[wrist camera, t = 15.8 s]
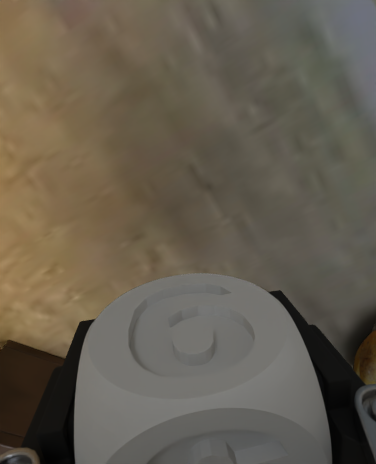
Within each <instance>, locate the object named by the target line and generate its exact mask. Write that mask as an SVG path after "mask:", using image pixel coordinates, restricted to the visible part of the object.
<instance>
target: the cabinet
mask: <svg viewBox="0 0 376 464" xmlns="http://www.w3.org/2000/svg"><path fill="white" fill-rule="evenodd" d="M64 361H65V359H62V358H59V357H56V356H53V355H50V354H47V353H44V352H42V351H39V350H36V349H33V348H30V347H27V346H24V345H21V344H18V343H15V342H13V341H10V340H9V341H8V342H7V343H6V344H5V346H4V347H3V348H2V350H1V351H0V455H1V454H3V453H5V452H7V451H9V450H13V449H16V448H20V447H21V445H22V442H23V440H24V438H25V435H26V433H27V431H28V428H29V426H30V423H31V421H32V419H33V416H34V414H35V412H36V409H37V407H38V405H39V402H40V400H41V398H42V395H43V393H44V390H45V388H46V386H47V383H48V381H49V379H50V376H51V374H52V372H53V370H54V369H55V368H56V367H59V366H63V363H64Z"/></svg>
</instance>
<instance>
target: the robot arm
mask: <svg viewBox="0 0 376 464" xmlns="http://www.w3.org/2000/svg"><path fill="white" fill-rule="evenodd" d="M268 293H269V294H271V295H272V296H273V297H275V298H276V299H277V300H278V301H279V302H280V303H281V304H282V305H283V306H284V307H285V309H286V310H287V312H288V313H289V314H290V316H291V318H292V319H293V321H294V323H295V325H296V327H297V329H298V331H299V333H300V335H301V337H302V339H303V341H304V344H305V346H306V348H307V351H308V353H309V356H310V359H311V361H312V364H313V367H314V370H315V373H316V376H317V380H318V383H319V386H320V390H321V393H322V397H323V401H324V406H325V410H326V415H327V420H328V425H329V431H330V439H331V448H332V464H376V384H368V385H366V384H365V383H364V382H363V381H362V380H361V378H360V377H359V376H358V375H357V374H356V372H355V371H354V370H353V369H352V368H351V367H350V365H349V364H348V363H347V362H346V361H345V359H344V358H343V357H342V356H341V355H340V353H339V352H338V351H337V350H336V349H335V348H334V346H333V345H332V344H331V343H330V342H329V340H328V339H327V338H326V337H325V336H324V334H323V333H322V332H321V331H320V330H319V329H318V328H317V327H316V326H315V325H308V323H307V322H306V321H305V320H304V318H303V317H302V316H301V315H300V313H299V312H298V311H297V310H296V308H295V307H294V306H293V305H292V304H291V302H290V301H289V300H288V299H287V297H286V296H285V295H284V294H283V292H282V291H280V290H279V291H272V292H268ZM94 321H95V319H93V320H86V321H81V322H80V323H79V325H78V328H77V330H76V333H75V335H74V338H73V340H72V343H71V346H70V348H69V351H68V353H67V356H66V358H65V361H64V363H63V366H59V367H56V368H55V369H54V370H53V372H52V374H51V376H50V379H49V381H48V383H47V386H46V388H45V390H44V393H43V395H42V398H41V400H40V402H39V405H38V407H37V409H36V412H35V414H34V416H33V419H32V421H31V423H30V426H29V428H28V431H27V433H26V435H25V438H24V440H23V442H22V445H21V447H20V448H16V449H13V450H9V451H7V452H5V453H3V454H1V455H0V464H75V451H74V410H75V393H76V383H77V374H78V367H79V361H80V356H81V351H82V347H83V343H84V340H85V337H86V334H87V332H88V330H89V327H90V326H91V324H92V323H93V322H94Z"/></svg>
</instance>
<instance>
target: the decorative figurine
mask: <svg viewBox="0 0 376 464" xmlns="http://www.w3.org/2000/svg"><path fill="white" fill-rule="evenodd" d="M354 371H355V372H356V374H357V375H358V376H359V377H360V378H361V380H362V381H363V382H364V383H365V384H366V385H368V384H376V324H375V325H374V326H373V329H372V332H371V333H370V334H369V336H368V337H367V338H366V339H365V340H364V341H363V342H362V344H361V345H360V347H359V348H358V350H357V352H356V355H355V359H354Z"/></svg>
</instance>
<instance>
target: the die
mask: <svg viewBox="0 0 376 464" xmlns="http://www.w3.org/2000/svg"><path fill="white" fill-rule="evenodd" d="M74 451H75V464H332V448H331V439H330V431H329V425H328V420H327V415H326V410H325V406H324V401H323V397H322V393H321V390H320V386H319V383H318V380H317V376H316V373H315V370H314V367H313V364H312V361H311V359H310V356H309V353H308V351H307V348H306V346H305V344H304V341H303V339H302V337H301V335H300V333H299V331H298V329H297V327H296V325H295V323H294V321H293V319H292V318H291V316H290V314H289V313H288V312H287V310H286V309H285V307H284V306H283V305H282V304H281V303H280V302H279V301H278V300H277V299H276V298H275V297H273V296H272V295H271V294H269V293H268V292H267V291H265V290H264V289H262V288H261V287H259V286H257V285H255V284H253V283H250V282H248V281H245V280H242V279H239V278H235V277H231V276H226V275H219V274H203V273H198V274H183V275H176V276H170V277H165V278H161V279H158V280H154V281H151V282H148V283H145V284H143V285H140V286H138V287H136V288H134V289H132V290H130V291H128V292H126V293H124V294H123V295H121V296H120V297H118V298H117V299H115V300H114V301H113V302H112V303H110V304H109V305H108V306H107V307H106V308H105V309H104V310H103V311H102V312H101V313H100V315H99V316H98V317H97V318H96V319H95V321H94V322H93V323H92V324H91V326H90V327H89V330H88V332H87V334H86V337H85V340H84V343H83V347H82V351H81V356H80V361H79V367H78V374H77V383H76V393H75V410H74Z"/></svg>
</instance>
